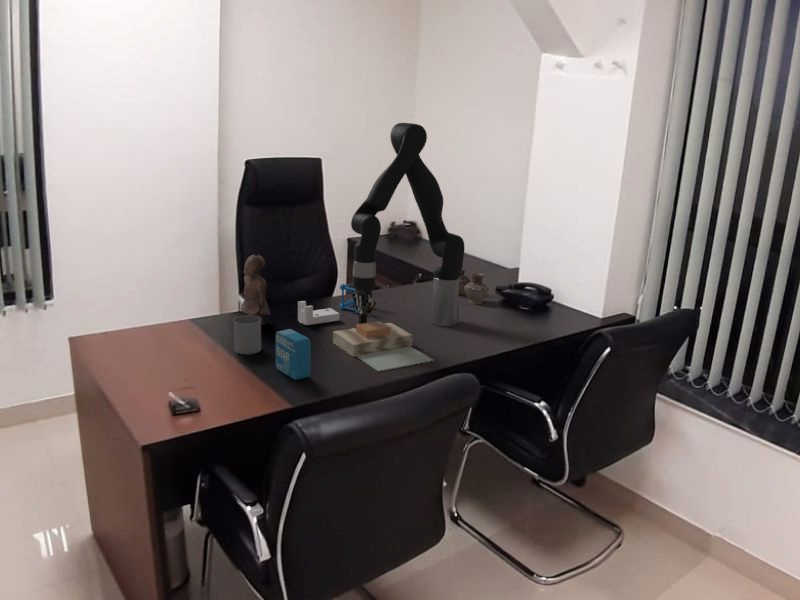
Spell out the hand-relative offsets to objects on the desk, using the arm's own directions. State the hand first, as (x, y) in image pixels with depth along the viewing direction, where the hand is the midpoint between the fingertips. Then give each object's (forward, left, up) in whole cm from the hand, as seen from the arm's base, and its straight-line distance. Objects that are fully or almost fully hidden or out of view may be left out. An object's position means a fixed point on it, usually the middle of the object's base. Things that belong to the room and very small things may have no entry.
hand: (362, 324), depth 230 cm
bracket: (+6, -22, -6) cm, 23 cm away
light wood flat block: (0, +7, -5) cm, 9 cm away
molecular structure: (-14, -30, -5) cm, 34 cm away
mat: (0, +21, -5) cm, 22 cm away
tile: (0, +7, 0) cm, 7 cm away
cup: (+38, -6, -5) cm, 39 cm away
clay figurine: (+27, -28, -5) cm, 39 cm away
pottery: (-63, -26, -5) cm, 68 cm away
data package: (+33, +18, -5) cm, 38 cm away
